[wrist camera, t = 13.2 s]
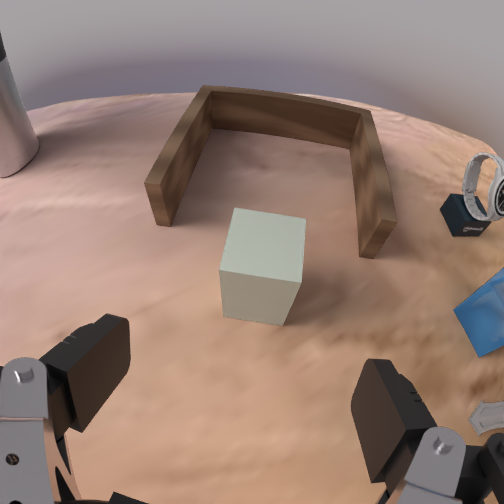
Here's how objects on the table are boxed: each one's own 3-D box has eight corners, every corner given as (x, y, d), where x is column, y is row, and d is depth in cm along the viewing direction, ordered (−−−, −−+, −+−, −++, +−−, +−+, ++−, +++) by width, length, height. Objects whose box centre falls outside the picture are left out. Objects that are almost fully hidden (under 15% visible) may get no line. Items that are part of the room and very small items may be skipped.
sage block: (234, 265, 28) (234, 207, 21) (288, 274, 27) (305, 218, 21) (223, 316, 25) (219, 269, 18) (282, 326, 25) (301, 282, 18)
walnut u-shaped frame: (204, 121, 40) (202, 85, 35) (358, 145, 39) (370, 110, 34) (156, 224, 30) (144, 182, 25) (372, 258, 29) (397, 222, 24)
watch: (458, 249, 30) (509, 189, 21) (434, 198, 34) (472, 136, 25) (485, 248, 31) (532, 194, 21) (461, 201, 35) (499, 145, 26)
